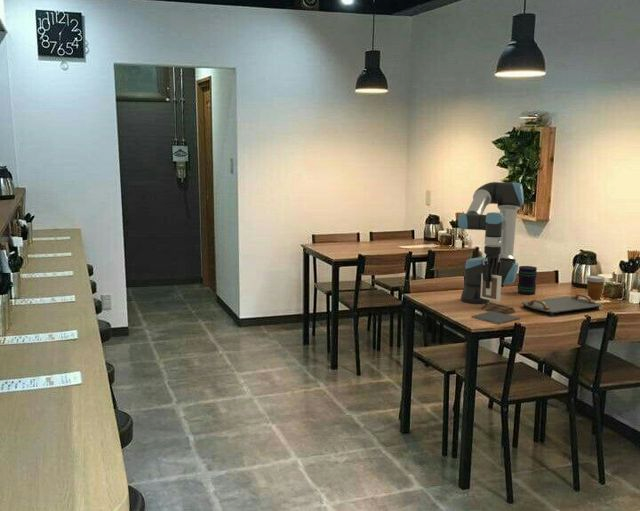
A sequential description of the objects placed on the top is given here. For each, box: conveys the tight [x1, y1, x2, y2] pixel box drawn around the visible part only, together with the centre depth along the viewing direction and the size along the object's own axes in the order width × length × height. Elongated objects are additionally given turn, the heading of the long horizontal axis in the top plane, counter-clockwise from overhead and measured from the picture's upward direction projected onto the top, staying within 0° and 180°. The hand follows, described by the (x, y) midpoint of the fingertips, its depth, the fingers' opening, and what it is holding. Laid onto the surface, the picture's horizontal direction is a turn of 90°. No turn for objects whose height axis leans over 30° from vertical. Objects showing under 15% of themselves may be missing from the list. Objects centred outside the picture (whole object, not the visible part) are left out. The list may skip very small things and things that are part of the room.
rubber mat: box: [471, 311, 521, 325], centre depth 303 cm, size 16×16×1 cm
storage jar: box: [517, 265, 538, 296], centre depth 355 cm, size 10×10×15 cm
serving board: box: [521, 293, 602, 317], centre depth 322 cm, size 39×23×6 cm, turn 115°
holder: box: [481, 301, 516, 315], centre depth 317 cm, size 14×8×3 cm, turn 38°
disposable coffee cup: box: [585, 275, 606, 300], centre depth 344 cm, size 10×10×12 cm
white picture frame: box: [480, 273, 502, 303], centre depth 297 cm, size 10×2×12 cm, turn 38°
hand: (490, 294), depth 298 cm, fingers closed on white picture frame, 2 cm apart
